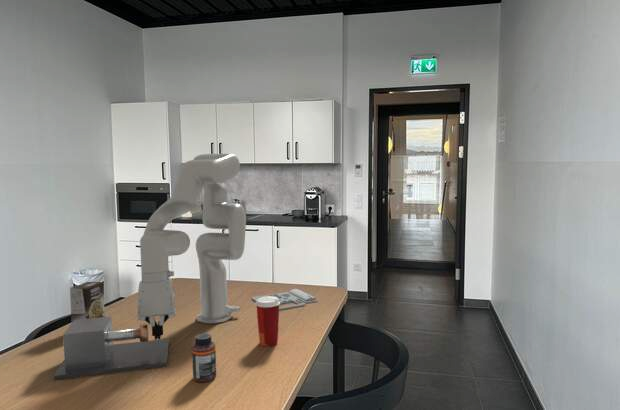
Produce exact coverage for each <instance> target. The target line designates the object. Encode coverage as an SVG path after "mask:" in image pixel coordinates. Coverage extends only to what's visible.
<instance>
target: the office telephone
mask: <svg viewBox="0 0 620 410" xmlns="http://www.w3.org/2000/svg"><path fill="white" fill-rule="evenodd" d="M266 296H273V297H277V298H278V299H279V301H280V304H279V312H281V311H283V310H284V311H286V310H290V309H296V308H301V307H305V306H307V305H308V304H313V303H317V302H319V299H318V298H316V297H314V296H312V295H310V294H308V293H307V292H305V291H302V290H300V289H298V288H293V289H289V291H286V292H280V293H279V292H278V293H272V294H264V295H259V296H252V297H251V300H252V301H253V302H255V303H256V301H257V299H258V298H261V297H266ZM290 303H294V304H292V305H287V306H281V307H280V305H284V304H285V305H286V304H290Z"/></svg>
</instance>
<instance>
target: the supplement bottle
mask: <svg viewBox="0 0 620 410" xmlns="http://www.w3.org/2000/svg"><path fill="white" fill-rule="evenodd" d="M216 354H217V353H216V343H214V341H212V334H211V333H200V334H197V335H196V336H195V342H194V344H193V345H192V347H191V355H192V357H191V359H192V360H191V361H192V378H193V380H194V381H196V382H198V383H207V382H210V381H212V380H214V379H215V378H216V377H217V355H216Z"/></svg>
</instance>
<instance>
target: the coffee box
mask: <svg viewBox="0 0 620 410" xmlns="http://www.w3.org/2000/svg"><path fill="white" fill-rule="evenodd" d="M69 296H70V299H69V300H70V316H71V323H72V322H73V321H74V320H78V319H89V318H100V317H106V315H105V314H106V312H105V310H106V309H105V292H104V281H86V282H83V283H80V284H77V285H74V286H70V287H69Z"/></svg>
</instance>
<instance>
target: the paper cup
mask: <svg viewBox="0 0 620 410" xmlns="http://www.w3.org/2000/svg"><path fill="white" fill-rule="evenodd" d="M279 304H280V301H279V299H278V298H277V297H273V296H266V297H261V298H258V299H257V301H256V302H255V303H254V305H255V306H256V316H257V329H258V338H259V339H258V340H259V345H260V346H262V347H273V346H276V345H278V340H279V317H280V311H279V307H280V305H281V304H280V305H279Z"/></svg>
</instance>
